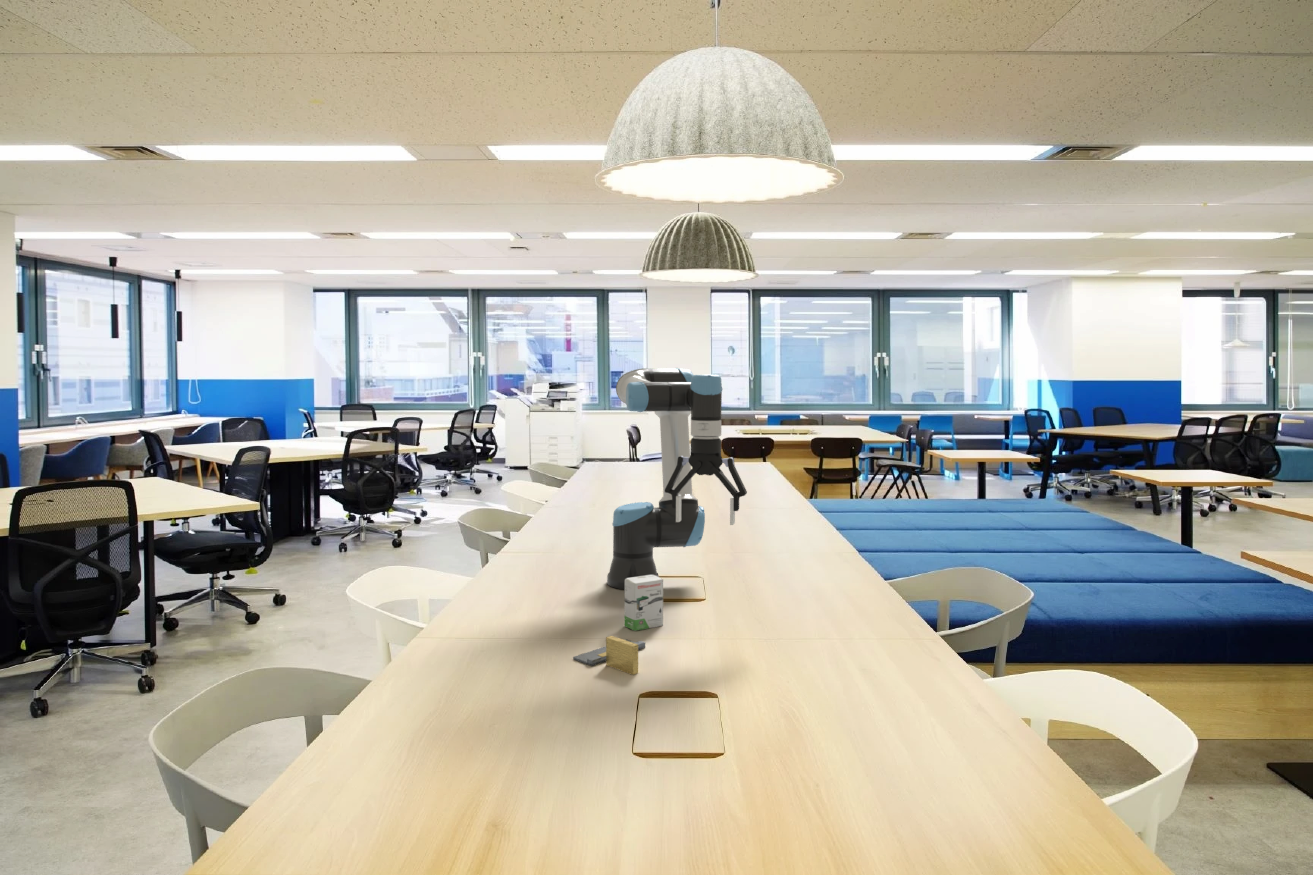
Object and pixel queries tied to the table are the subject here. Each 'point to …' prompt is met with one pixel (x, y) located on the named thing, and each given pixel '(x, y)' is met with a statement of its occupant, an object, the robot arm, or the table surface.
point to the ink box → (643, 602)
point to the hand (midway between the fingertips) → (705, 522)
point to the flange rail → (615, 655)
